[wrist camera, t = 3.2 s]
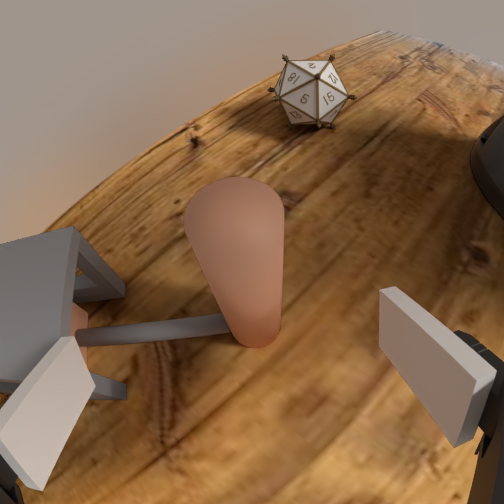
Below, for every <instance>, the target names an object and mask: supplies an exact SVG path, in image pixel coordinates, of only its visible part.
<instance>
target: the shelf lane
mask: <svg viewBox="0 0 504 504" xmlns="http://www.w3.org/2000/svg"><path fill="white" fill-rule="evenodd" d="M76 266H77V267H78V268H79V269H80V270H81V271H82V272H83V273H84V274H85V275H79V276H75V273H76ZM123 297H125V283H124V282H123V281H122V280H121V278H120V277H119V276H118V275H117V274H116V273H115V272H114V271H113V270H112V269H111V268H110V267H109V266H108V264H107V263H106V262H105V261H104V260H103V259H102V258H101V257H100V256H99V254H98V253H97V252H96V251H95V250H94V249H93V248H92V247H91V245H90V244H89V243H88V242H87V241H86V240H85V238H84V237H83V236H82V235H81V234H80V233H79V231H78V230H77V229H76V228H75V227H74V226H71V227H66V228H62V229H58V230H54V231H50V232H46V233H42V234H38V235H34V236H30V237H26V238H22V239H19V240H15V241H11V242H7V243H4V244H0V393H4V394H13V393H14V392H15V390H16V389H17V388H18V387H19V386H20V384H21V383H22V382H23V381H24V379H25V378H26V377H27V376H28V375H29V373H30V372H31V371H32V370H33V369H34V368H35V366H36V365H37V364H38V363H39V362H40V361H41V359H42V358H43V357H44V356H45V355H46V354H47V352H48V351H49V350H50V349H51V348H52V347H53V346H54V345H55V343H56V342H57V341H58V340H59V339H60V338H61V337H69V336H70V328H71V313H72V302H74V303H84V302H92V301H100V300H108V299H116V298H123ZM89 373H90V375H91V377H92V379H93V381H94V384H95V386H96V387H95V388H94V390H93V392H92V394H91V396H90V398H89V399H88V400H127V391H126V384H124V383H121V382H118V381H115V380H112V379H109V378H106V377H103V376H100V375H98V374H95V373H92V372H89Z"/></svg>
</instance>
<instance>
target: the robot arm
mask: <svg viewBox="0 0 504 504" xmlns="http://www.w3.org/2000/svg"><path fill="white" fill-rule="evenodd" d="M470 161H471V167H472V171H473V174H474V176H475V179H476V181H477V183H478V185H479V187H480V189H481V190H482V192H483V193H484V195H485V196H486V198H487V199H488V201H489V202H490V203H491V204H492V206H493V207H494V208H495V209H496V210H497V211H498V213H499V214H500V215H501V216H502V217H503V218H504V113H503V114H502V115H501V116H500V117H499V118H498V119H497V120H496V121H495V122H493V123H492V124H491V125H490V126H489V127H488V128H487V129H486V130H485V131H483V132H482V133H481V134H480V136H479V137H478V139H477V141H476V143H475V145H474V147H473V149H472V151H471V156H470ZM379 347H380V349H381V350H382V351H383V352H384V354H385V355H386V356H387V358H388V359H389V360H390V362H391V363H392V364H393V366H394V367H395V368H396V370H397V371H398V372H399V373H400V375H401V376H402V377H403V379H404V380H405V381H406V383H407V384H408V385H409V387H410V388H411V390H412V391H413V392H414V394H415V395H416V396H417V398H418V399H419V400H420V402H421V403H422V404H423V406H424V407H425V409H426V410H427V411H428V413H429V414H430V415H431V417H432V418H433V420H434V421H435V422H436V424H437V425H438V426H439V428H440V429H441V431H442V432H443V434H444V435H445V436H446V438H447V439H448V441H449V442H450V443H451V445H452V446H453V448H455V447H457V446H459V445H461V444H463V443H465V442H467V441H469V440H471V439H473V437H474V435H475V432H476V430H477V427H478V426H479V427H480V428H481V429H482V431H483V432H484V434H483V436H482V438H481V441H480V443H479V445H478V447H477V449H476V452H475V455H477V454H478V452H479V455H478V460H477V465H476V470H475V474H474V479H473V483H472V487H471V491H470V495H469V498H468V502H467V504H504V362H503V361H502V360H501V359H499V358H498V357H497V356H496V355H495V354H494V353H492V352H491V351H490V350H489V349H488V350H487V348H486V347H485V346H484V345H483V344H480V342H479V341H478V340H476V339H475V338H474V337H473V336H471V335H470V334H467V333H464V332H462V331H459V330H458V331H455V332H452V331H450V330H449V329H448V328H447V327H446V326H444V325H443V324H442V323H441V322H440V321H438V320H437V319H436V318H435V317H433V316H432V315H431V314H430V313H429V312H427V311H426V310H425V309H424V308H422V307H421V306H420V305H419V304H417V303H416V302H415V301H414V300H412V299H411V298H410V297H409V296H407V295H406V294H405V293H404V292H402V291H401V290H400V289H398V288H397V287H396V286H394V287H389V288H385V289H381V290H379ZM95 387H96V386H95V384H94V381H93V379H92V377H91V375H90V373H89V370H88V368H87V366H86V363H85V361H84V359H83V356H82V354H81V352H80V349H79V347H78V344H77V342H76V339H75V337H74V336H69V337H61V338H60V339H59V340H58V341H57V342H56V343H55V345H54V346H53V347H52V348H51V349H50V350H49V351H48V352H47V354H46V355H45V356H44V357H43V358H42V359H41V361H40V362H39V363H38V364H37V365H36V366H35V368H34V369H33V370H32V371H31V372H30V373H29V375H28V376H27V377H26V378H25V379H24V381H23V382H22V383H21V384H20V386H19V387H18V388H17V389H16V390H15V392H14V393H13V394H12V395H11V397H9V398H8V399H7V400H6V401H5V403H4V404H3V405H2V406H1V409H0V504H24V501H23V497H22V494H21V490H20V488H19V486H18V485H17V484H16V483H15V481H16V480H17V478H18V477H19V478H20V480H21V481H22V482H23V483H24V484H25V485H26V486H27V487H28V488H32V489H35V490H39V491H43V489H44V487H45V485H46V483H47V481H48V478H49V476H50V474H51V472H52V470H53V468H54V466H55V464H56V462H57V460H58V458H59V455H60V453H61V451H62V449H63V447H64V445H65V443H66V441H67V439H68V438H69V436H70V434H71V432H72V430H73V428H74V426H75V424H76V422H77V420H78V418H79V416H80V414H81V413H82V411H83V409H84V407H85V405H86V403H87V401H88V399H89V398H90V396H91V394H92V392H93V390H94V388H95Z"/></svg>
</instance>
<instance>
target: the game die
mask: <svg viewBox="0 0 504 504" xmlns="http://www.w3.org/2000/svg"><path fill="white" fill-rule="evenodd" d="M334 58H335V55H334V54H333V55H330V57H329V60H291V61H290V60H288V58H287V56H285V55H283V58H282V59H284V61H286V64H285V67H284V69H283V71H282V73H281V75H280V77H279V80H278V82H277V84H276V86H275V89H274V88H271V87H270V88H269V89H268V91H269V92H275V94H276V96H274V97H273V98H272V99H271V100H273V101H275V102H276V101H278V100H279V102H280V104H281V106H282V108H283V110H284V112H285V115H286V117H287V119H288V121H289V123H290V124H289V125H287V131H289V130H291V128H292V125H306V124H316V126H318V127H319V128H320V127H321V126H322V124H330V126H331V128H333V129H335V125H334V123H332V122H333V120H334V119H335V117H336V116H337V114H338V113H339V112H340V110H341V109H342V107H343V106H344V104H345V103H346V102H347V100H348V99H349V98H350V99H351V100H352V99H353V100H354V99H357V97H356V96H355V95H349V94H348V92H347V90H346V88H345V86H344V84H343V82H342V80H341V78H340V77H339V75H338V73H337V71H336V69H335V67H334V66H333V64H332V61H333V60H334Z"/></svg>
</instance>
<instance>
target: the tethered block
mask: <svg viewBox="0 0 504 504" xmlns="http://www.w3.org/2000/svg"><path fill="white" fill-rule="evenodd" d="M184 229H185V233H186V235H187V237H188V240H189V242H190V244H191V247H192V249H193V251H194V253H195V255H196V258H197V260H198V262H199V264H200V267H201V269H202V271H203V273H204V275H205V277H206V280H207V282H208V284H209V286H210V288H211V290H212V293H213V295H214V297H215V299H216V301H217V303H218V305H219V307H220V310H221V312H222V313H218V314H211V315H203V316H196V317H188V318H180V319H172V320H164V321H155V322H146V323H137V324H127V325H117V326H107V327H96V328H88V313H87V312H86V311H85V310H83V309H82V308H80V307H79V306H78V305H76V304H75V303H74V302H72V313H71V328H70V336H74V337H75V339H76V342H77V344H78V347H79V349H80V352H81V354H82V356H83V359H84V361H85V363H86V366H87V347H89V346H105V345H119V344H131V343H143V342H154V341H164V340H173V339H182V338H191V337H199V336H207V335H215V334H222V333H230V330H231V332H232V334H233V336H234V338H235V339H236V340H237V341H238V342H239V343H240V344H242V345H244V346H246V347H250V348H260V347H264V346H266V345H268V344H270V343H271V342H273V341H274V340H275V338H276V337H277V336H278V334H279V331H280V327H281V309H282V283H283V253H284V206H283V203H282V201H281V199H280V197H279V196H278V194H277V193H276V192H275V191H274V190H273V189H272V188H271V187H270V186H268V185H267V184H265V183H263V182H261V181H259V180H256V179H252V178H247V177H229V178H224V179H220V180H217V181H215V182H212V183H210V184H208V185H207V186H205V187H204V188H202V189H201V190H200V191H198V192H197V193H196V194H195V195H194V197H193V198H192V199H191V201H190V202H189V204H188V206H187V208H186V211H185V214H184Z"/></svg>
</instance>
